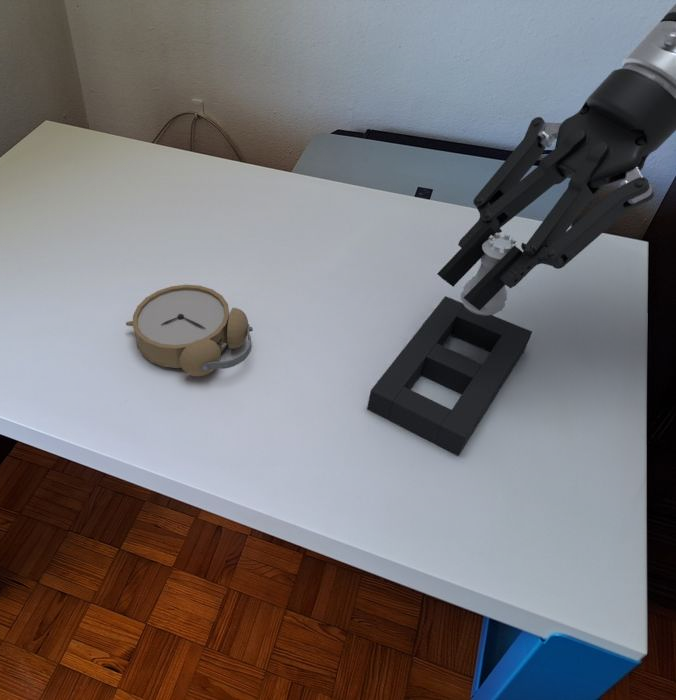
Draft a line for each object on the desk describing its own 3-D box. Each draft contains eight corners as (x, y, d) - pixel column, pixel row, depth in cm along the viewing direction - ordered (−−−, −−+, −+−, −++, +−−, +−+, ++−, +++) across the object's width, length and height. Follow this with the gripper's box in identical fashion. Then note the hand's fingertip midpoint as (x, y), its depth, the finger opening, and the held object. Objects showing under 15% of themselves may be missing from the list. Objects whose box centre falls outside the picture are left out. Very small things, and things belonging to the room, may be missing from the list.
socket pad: (524, 350, 77) (532, 331, 75) (458, 456, 68) (465, 438, 66) (440, 314, 82) (445, 295, 80) (366, 408, 72) (370, 390, 70)
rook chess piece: (476, 283, 73) (495, 221, 67) (513, 304, 71) (536, 241, 65) (450, 302, 71) (468, 240, 65) (487, 324, 69) (509, 261, 63)
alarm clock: (176, 273, 84) (272, 307, 76) (183, 305, 87) (277, 341, 79) (110, 322, 79) (206, 365, 70) (121, 354, 82) (214, 400, 73)
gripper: (568, 35, 63) (390, 233, 70) (731, 109, 52) (501, 333, 60) (591, 78, 68) (423, 259, 75) (743, 154, 58) (530, 355, 65)
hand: (458, 291), depth 68 cm, fingers closed on rook chess piece, 3 cm apart
